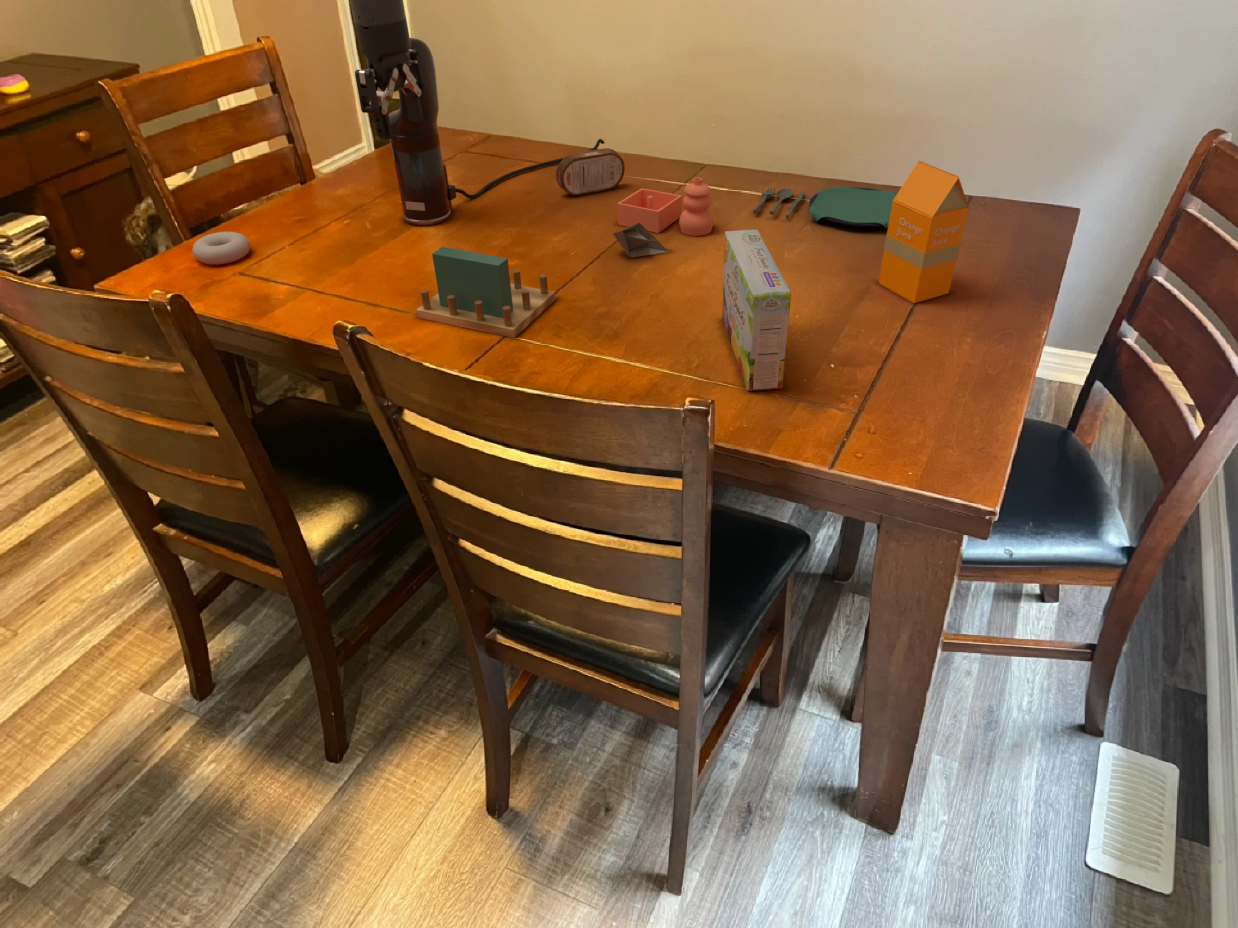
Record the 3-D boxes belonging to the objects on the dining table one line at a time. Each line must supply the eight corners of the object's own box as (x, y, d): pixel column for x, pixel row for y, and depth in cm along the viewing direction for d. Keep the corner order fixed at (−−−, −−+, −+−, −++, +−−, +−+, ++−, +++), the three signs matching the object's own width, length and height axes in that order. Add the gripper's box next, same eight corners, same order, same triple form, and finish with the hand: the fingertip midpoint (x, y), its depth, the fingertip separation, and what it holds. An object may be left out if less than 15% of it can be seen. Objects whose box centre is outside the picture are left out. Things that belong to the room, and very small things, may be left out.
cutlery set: (904, 239, 159) (906, 227, 158) (747, 220, 168) (747, 208, 167) (916, 202, 174) (918, 191, 172) (770, 186, 183) (771, 175, 181)
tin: (620, 183, 186) (619, 143, 181) (627, 187, 184) (626, 148, 179) (556, 195, 181) (554, 155, 176) (562, 200, 179) (559, 159, 174)
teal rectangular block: (449, 298, 140) (441, 246, 135) (513, 311, 136) (507, 258, 131) (440, 305, 138) (431, 253, 133) (504, 318, 134) (498, 265, 129)
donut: (184, 266, 156) (233, 269, 155) (178, 248, 154) (227, 251, 153) (215, 244, 164) (262, 246, 162) (209, 227, 162) (257, 229, 160)
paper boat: (650, 232, 161) (685, 233, 154) (642, 266, 162) (676, 268, 155) (603, 211, 153) (638, 211, 146) (595, 247, 154) (629, 248, 147)
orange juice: (913, 303, 139) (939, 181, 127) (877, 282, 145) (898, 164, 133) (949, 292, 141) (978, 172, 129) (912, 272, 148) (936, 155, 136)
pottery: (617, 224, 168) (616, 174, 162) (641, 208, 174) (641, 159, 168) (699, 241, 160) (702, 190, 154) (721, 224, 167) (724, 174, 161)
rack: (463, 282, 148) (460, 258, 146) (555, 299, 142) (554, 274, 140) (417, 317, 138) (412, 292, 136) (514, 338, 132) (511, 311, 130)
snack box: (718, 320, 135) (723, 229, 126) (753, 318, 136) (760, 227, 127) (745, 393, 119) (753, 293, 110) (784, 390, 119) (796, 291, 110)
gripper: (386, 5, 131) (406, 114, 142) (328, 26, 121) (354, 142, 131) (427, 7, 129) (445, 118, 139) (372, 29, 119) (395, 146, 129)
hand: (401, 129), depth 135 cm, fingers open, 8 cm apart
